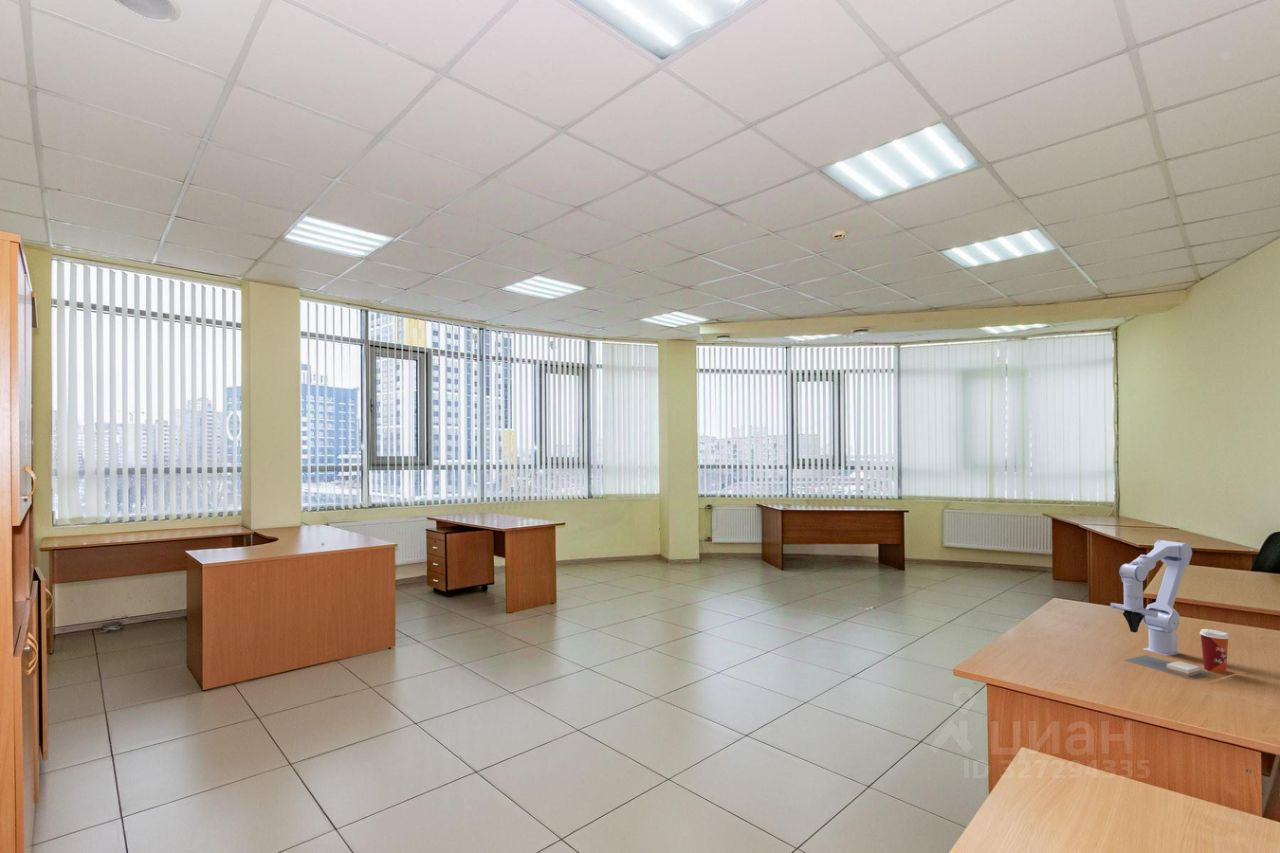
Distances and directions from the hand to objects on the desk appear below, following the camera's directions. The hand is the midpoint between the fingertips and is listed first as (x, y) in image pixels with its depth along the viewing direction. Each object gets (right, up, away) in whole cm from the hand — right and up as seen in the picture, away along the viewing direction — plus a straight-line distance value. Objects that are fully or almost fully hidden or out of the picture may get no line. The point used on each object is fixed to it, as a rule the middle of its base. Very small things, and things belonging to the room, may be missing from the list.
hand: (1133, 631), depth 226 cm
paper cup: (+17, -9, -15) cm, 24 cm away
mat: (+2, -9, -12) cm, 15 cm away
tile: (+2, -7, -14) cm, 16 cm away
